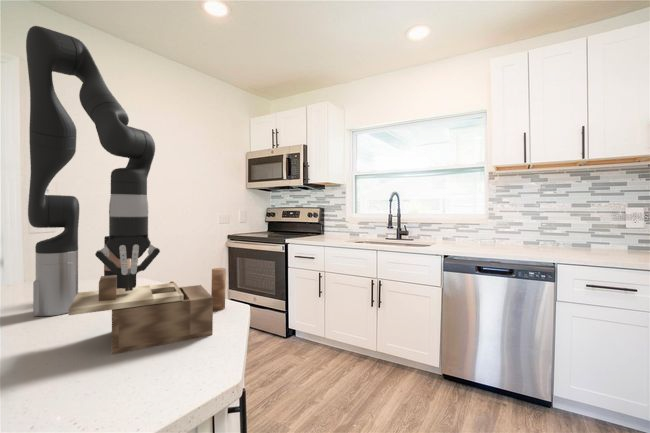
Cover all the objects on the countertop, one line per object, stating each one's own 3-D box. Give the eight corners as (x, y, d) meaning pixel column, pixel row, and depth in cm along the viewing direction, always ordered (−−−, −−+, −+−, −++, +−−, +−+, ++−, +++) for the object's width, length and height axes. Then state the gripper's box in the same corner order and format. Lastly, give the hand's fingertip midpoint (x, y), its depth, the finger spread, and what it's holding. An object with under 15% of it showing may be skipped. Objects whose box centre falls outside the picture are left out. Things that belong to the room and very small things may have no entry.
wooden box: (111, 354, 63) (111, 311, 63) (113, 331, 75) (113, 294, 75) (212, 334, 74) (212, 297, 74) (200, 317, 86) (200, 284, 86)
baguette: (212, 311, 91) (213, 270, 90) (209, 307, 94) (210, 268, 94) (226, 309, 93) (227, 269, 93) (223, 305, 96) (223, 267, 96)
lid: (68, 315, 60) (68, 288, 59) (77, 297, 71) (77, 275, 71) (183, 300, 71) (183, 277, 71) (175, 287, 82) (175, 267, 82)
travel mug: (116, 289, 112) (116, 235, 112) (135, 291, 111) (135, 235, 111) (98, 295, 105) (98, 236, 104) (118, 296, 103) (118, 237, 103)
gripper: (91, 215, 64) (91, 298, 64) (163, 215, 71) (163, 290, 71) (94, 214, 70) (94, 290, 70) (160, 214, 77) (159, 283, 78)
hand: (129, 290), depth 71 cm, fingers closed
